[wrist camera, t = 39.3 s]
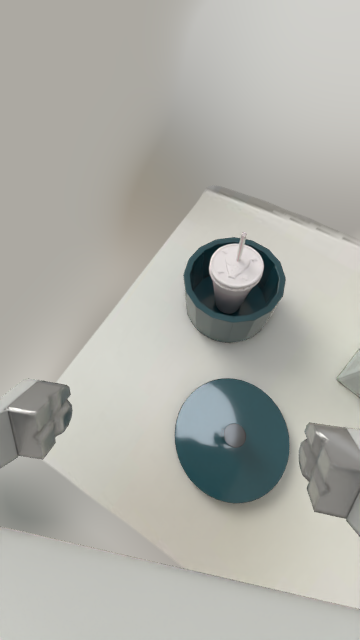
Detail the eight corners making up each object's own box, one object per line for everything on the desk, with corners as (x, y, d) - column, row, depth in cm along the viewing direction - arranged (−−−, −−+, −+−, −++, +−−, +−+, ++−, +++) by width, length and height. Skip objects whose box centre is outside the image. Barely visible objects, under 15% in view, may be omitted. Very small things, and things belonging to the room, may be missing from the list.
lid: (181, 506, 29) (178, 519, 25) (171, 386, 35) (167, 379, 30) (300, 493, 29) (318, 504, 25) (270, 374, 34) (281, 366, 30)
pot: (191, 347, 37) (190, 327, 30) (182, 275, 42) (179, 244, 35) (279, 337, 37) (297, 314, 30) (258, 265, 42) (270, 232, 35)
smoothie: (254, 291, 39) (281, 222, 26) (242, 327, 37) (266, 271, 24) (214, 280, 41) (221, 209, 28) (200, 314, 38) (202, 254, 25)
